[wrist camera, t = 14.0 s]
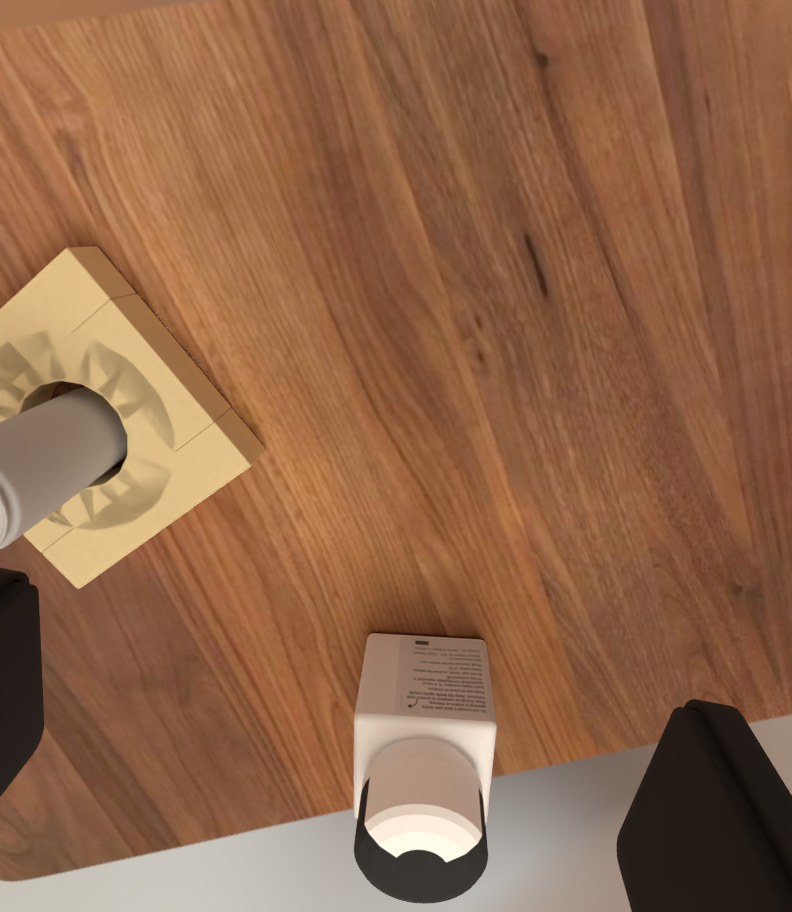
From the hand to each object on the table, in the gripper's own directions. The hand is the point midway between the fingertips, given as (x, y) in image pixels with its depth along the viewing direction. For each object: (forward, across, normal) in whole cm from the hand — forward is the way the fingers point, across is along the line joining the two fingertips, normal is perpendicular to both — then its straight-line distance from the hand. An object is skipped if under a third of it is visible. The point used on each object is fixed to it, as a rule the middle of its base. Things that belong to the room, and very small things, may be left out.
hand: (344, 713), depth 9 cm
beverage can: (+27, +17, +8) cm, 33 cm away
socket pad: (+26, +17, +7) cm, 32 cm away
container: (+26, -5, +22) cm, 35 cm away
